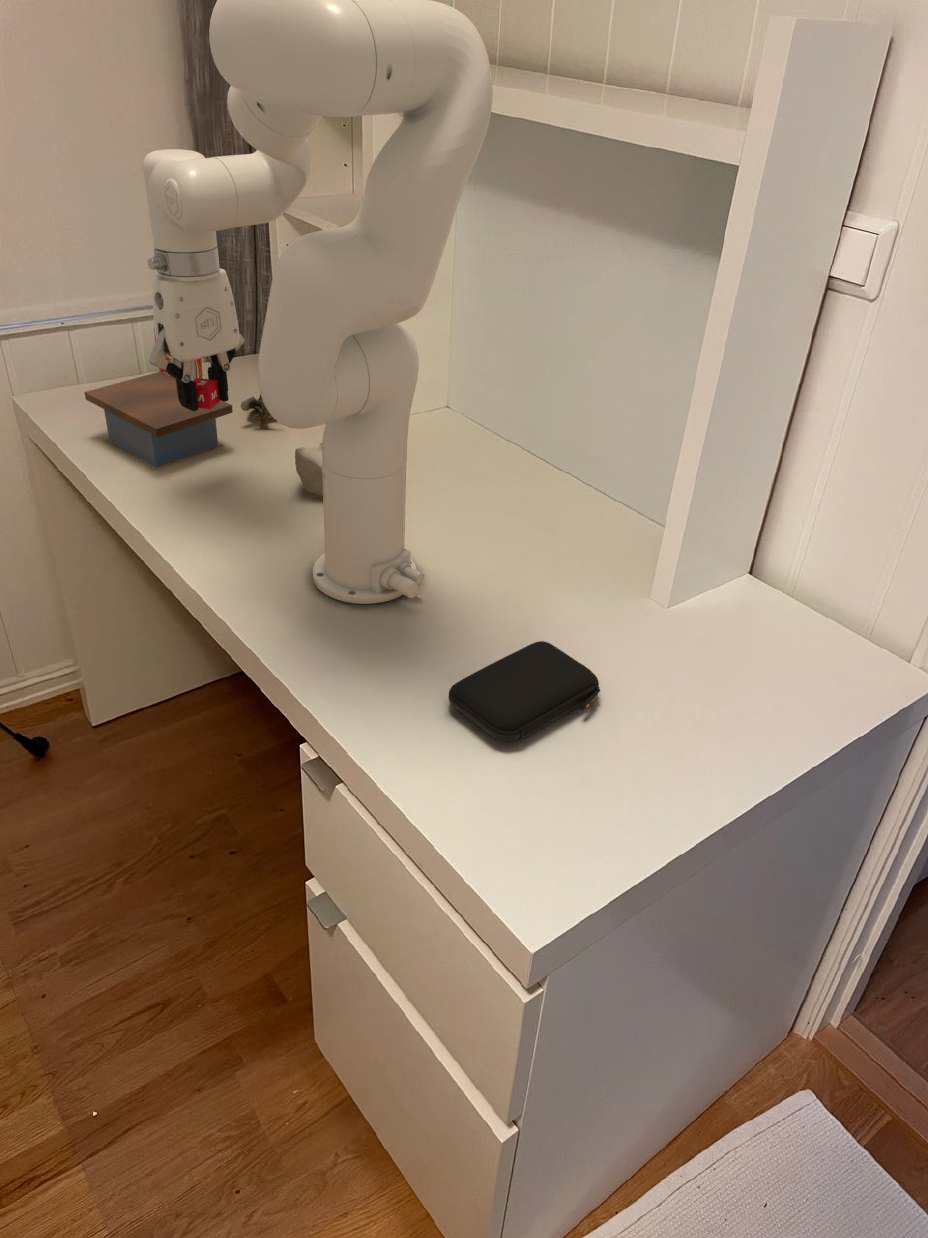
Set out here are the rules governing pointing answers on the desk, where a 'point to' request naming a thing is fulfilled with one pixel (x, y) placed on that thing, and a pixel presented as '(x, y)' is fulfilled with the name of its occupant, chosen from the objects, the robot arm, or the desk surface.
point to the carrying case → (524, 691)
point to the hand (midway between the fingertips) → (204, 401)
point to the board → (152, 404)
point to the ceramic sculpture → (310, 468)
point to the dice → (207, 393)
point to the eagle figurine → (256, 408)
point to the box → (161, 440)
